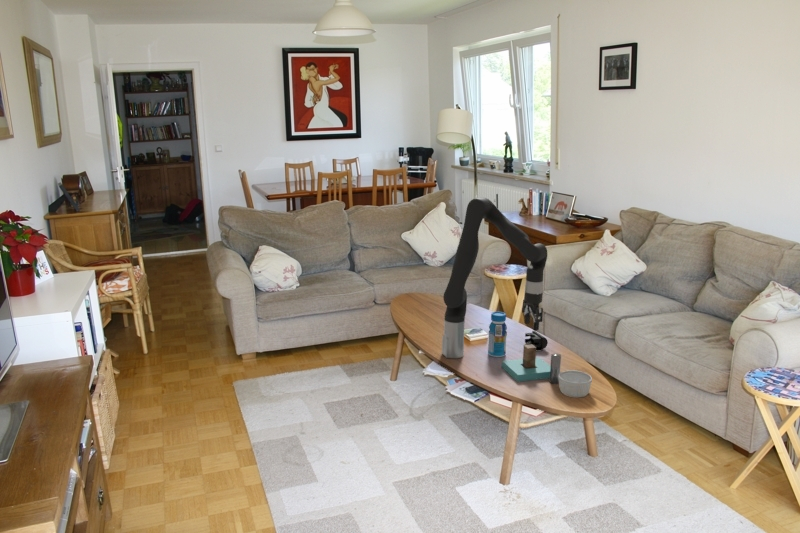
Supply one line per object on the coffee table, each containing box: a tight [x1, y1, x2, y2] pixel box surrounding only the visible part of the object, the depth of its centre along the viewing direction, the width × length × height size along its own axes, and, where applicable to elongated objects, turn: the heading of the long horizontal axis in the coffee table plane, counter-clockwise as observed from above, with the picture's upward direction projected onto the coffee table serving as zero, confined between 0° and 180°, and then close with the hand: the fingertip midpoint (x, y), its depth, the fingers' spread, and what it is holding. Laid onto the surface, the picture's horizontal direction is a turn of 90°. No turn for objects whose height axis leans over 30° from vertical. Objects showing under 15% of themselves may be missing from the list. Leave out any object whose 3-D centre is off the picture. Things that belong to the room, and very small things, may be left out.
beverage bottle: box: [487, 311, 508, 358], centre depth 309 cm, size 8×8×20 cm
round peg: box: [549, 353, 562, 385], centre depth 280 cm, size 4×4×12 cm
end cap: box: [524, 330, 549, 351], centre depth 320 cm, size 10×7×7 cm
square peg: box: [522, 344, 537, 369], centre depth 290 cm, size 4×4×12 cm
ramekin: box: [558, 369, 593, 398], centre depth 272 cm, size 13×13×7 cm
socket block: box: [501, 356, 551, 382], centre depth 291 cm, size 18×16×3 cm
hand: (531, 326), depth 286 cm, fingers open, 8 cm apart
